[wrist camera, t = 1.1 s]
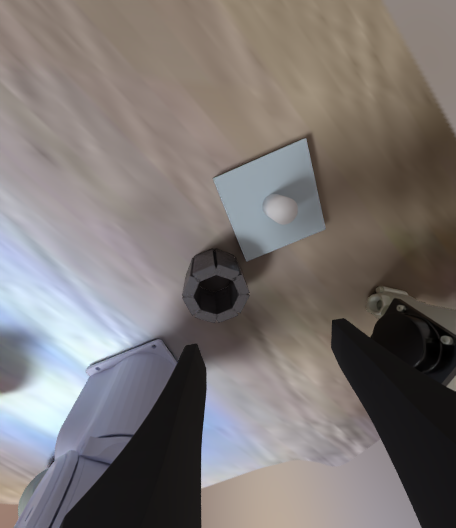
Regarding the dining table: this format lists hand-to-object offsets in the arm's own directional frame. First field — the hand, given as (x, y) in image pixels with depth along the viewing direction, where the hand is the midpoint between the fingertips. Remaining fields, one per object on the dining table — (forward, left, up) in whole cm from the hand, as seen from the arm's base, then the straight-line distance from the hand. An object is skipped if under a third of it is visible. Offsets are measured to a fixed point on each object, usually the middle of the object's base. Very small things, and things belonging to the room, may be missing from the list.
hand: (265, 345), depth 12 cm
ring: (-3, 0, -11) cm, 12 cm away
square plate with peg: (+5, +4, -11) cm, 13 cm away
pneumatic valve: (+14, -12, -12) cm, 22 cm away
